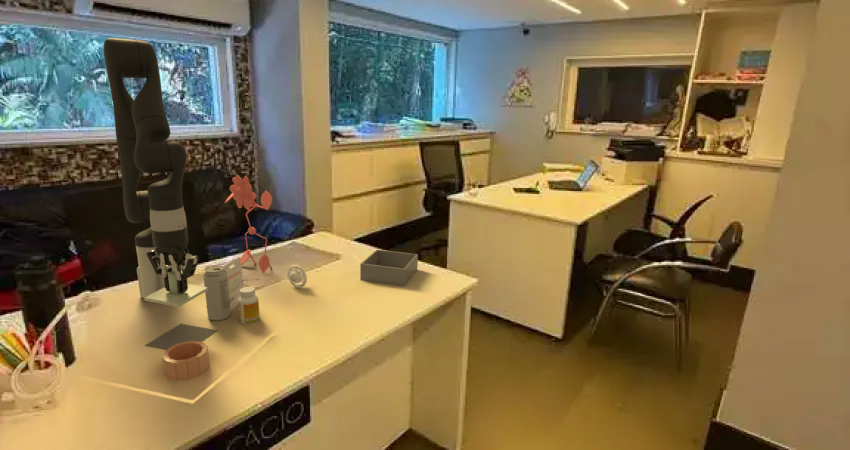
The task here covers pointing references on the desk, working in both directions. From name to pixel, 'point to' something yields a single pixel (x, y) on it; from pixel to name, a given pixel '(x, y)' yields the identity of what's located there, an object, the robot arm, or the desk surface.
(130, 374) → the desk surface
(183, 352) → the bowl
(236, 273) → the ink cartridge box
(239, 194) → the pink flower figurine
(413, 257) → the tray
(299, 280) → the white round piece
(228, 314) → the energy drink can
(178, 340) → the mat
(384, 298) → the desk surface
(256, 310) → the supplement bottle
